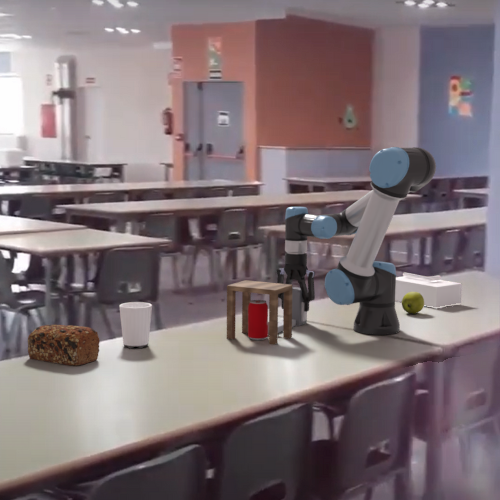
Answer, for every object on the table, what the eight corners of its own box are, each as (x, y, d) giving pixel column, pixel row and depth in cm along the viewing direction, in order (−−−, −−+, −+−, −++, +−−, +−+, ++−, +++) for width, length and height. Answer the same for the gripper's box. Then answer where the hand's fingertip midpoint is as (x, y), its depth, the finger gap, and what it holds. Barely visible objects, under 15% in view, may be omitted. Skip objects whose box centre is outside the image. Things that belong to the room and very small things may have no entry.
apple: (427, 312, 336) (428, 291, 335) (417, 316, 329) (418, 294, 328) (407, 310, 340) (408, 289, 339) (397, 314, 333) (398, 292, 332)
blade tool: (306, 322, 316) (307, 288, 315) (276, 335, 296) (276, 298, 295) (290, 321, 319) (291, 286, 318) (259, 333, 299) (260, 297, 298)
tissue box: (435, 309, 343) (436, 281, 342) (386, 300, 363) (387, 272, 362) (461, 305, 352) (462, 277, 351) (411, 296, 372) (412, 269, 370)
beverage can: (268, 336, 294) (268, 299, 293) (266, 341, 288) (267, 303, 287) (248, 336, 295) (249, 299, 293) (246, 340, 289) (247, 302, 287)
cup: (158, 344, 282) (158, 303, 281) (141, 351, 273) (141, 309, 272) (130, 341, 286) (130, 300, 285) (113, 347, 278) (112, 306, 276)
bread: (100, 360, 263) (100, 326, 262) (75, 368, 254) (74, 332, 253) (52, 351, 272) (51, 318, 271) (25, 359, 263) (25, 324, 262)
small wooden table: (291, 337, 294) (292, 284, 292) (274, 344, 283) (275, 290, 281) (244, 331, 302) (245, 280, 300) (226, 338, 291) (226, 285, 289)
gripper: (326, 253, 311) (325, 320, 314) (276, 249, 320) (275, 314, 323) (317, 255, 304) (315, 324, 307) (266, 251, 313) (265, 318, 316)
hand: (295, 319), depth 315 cm, fingers closed on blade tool, 6 cm apart
